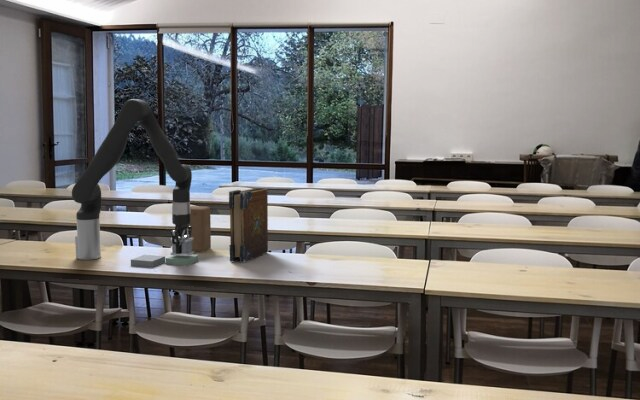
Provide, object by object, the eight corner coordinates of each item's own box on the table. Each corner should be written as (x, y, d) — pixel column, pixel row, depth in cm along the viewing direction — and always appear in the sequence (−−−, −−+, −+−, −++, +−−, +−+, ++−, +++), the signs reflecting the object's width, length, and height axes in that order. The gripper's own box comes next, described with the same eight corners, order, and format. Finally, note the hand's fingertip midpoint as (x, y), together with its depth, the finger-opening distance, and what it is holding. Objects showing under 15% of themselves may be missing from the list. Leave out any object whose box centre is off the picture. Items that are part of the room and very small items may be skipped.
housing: (170, 254, 252) (170, 238, 251) (176, 252, 256) (176, 236, 255) (187, 256, 249) (187, 239, 248) (193, 253, 254) (193, 237, 253)
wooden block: (203, 252, 273) (202, 209, 270) (182, 251, 275) (182, 208, 272) (211, 248, 283) (211, 206, 280) (191, 247, 285) (191, 205, 282)
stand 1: (130, 265, 246) (130, 259, 246) (144, 260, 256) (144, 254, 256) (152, 267, 244) (152, 261, 243) (165, 262, 253) (165, 256, 253)
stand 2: (165, 264, 250) (165, 258, 249) (177, 259, 259) (177, 253, 259) (187, 265, 247) (187, 259, 247) (198, 260, 257) (198, 254, 256)
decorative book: (244, 263, 253) (243, 192, 249) (229, 261, 256) (228, 191, 252) (270, 252, 274) (270, 187, 271) (256, 251, 277) (256, 186, 274)
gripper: (181, 209, 259) (182, 248, 261) (164, 214, 245) (165, 255, 247) (197, 210, 256) (198, 249, 259) (181, 215, 243) (181, 256, 245)
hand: (182, 252), depth 253 cm, fingers closed on housing, 5 cm apart
